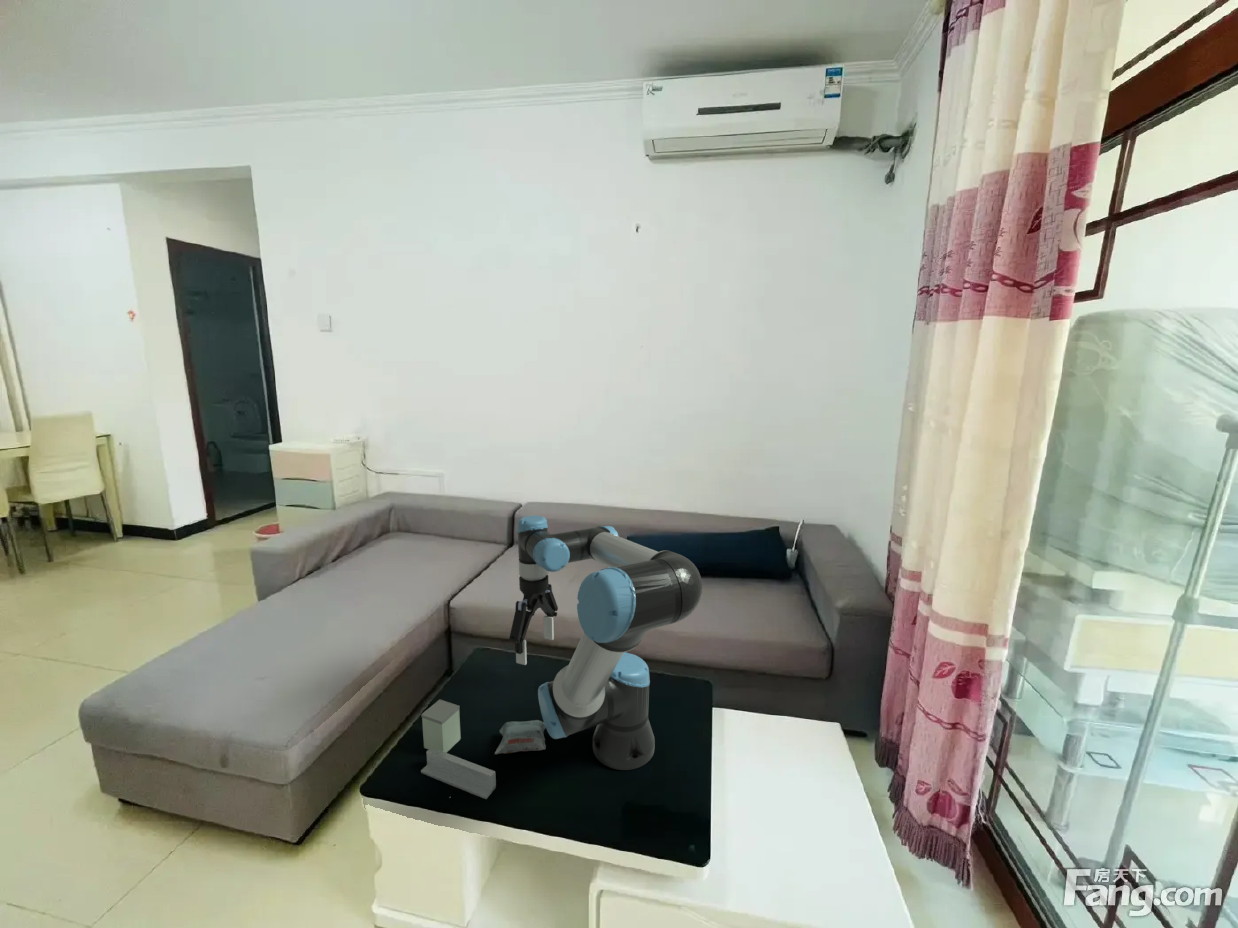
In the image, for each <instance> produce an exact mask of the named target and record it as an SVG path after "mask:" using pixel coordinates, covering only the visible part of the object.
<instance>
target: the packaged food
mask: <svg viewBox="0 0 1238 928" xmlns="http://www.w3.org/2000/svg"><path fill="white" fill-rule="evenodd" d="M545 730H546V727H545V724H544V721H542V720H539V719H533V720H527V721H525V720H524V721H507V722H505V723H504V724H503V725H502V726H501V728H500V729H499V734H501V736H502V739H501V741H500V743H499V745H498V747H497V748H496V751H495V752H494V755H498V754H512V753H518V752H531V751H543V750H544V751H545V750H546V747H547V745H546V738H545V736H544V731H545Z"/></svg>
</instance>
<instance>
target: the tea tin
mask: <svg viewBox="0 0 1238 928" xmlns="http://www.w3.org/2000/svg"><path fill="white" fill-rule="evenodd" d="M460 709H461V708H460V705H459V704H458V705H457V704H455V703H452V702H449V701H447V700H446V701H445V700H443V699H438V700H437V701H436V702H435V703H434V704H432V705H431V706H430V707H429V708H427V709H426V710H425V711H424V712H422V714H421V713H420V714H421V718H422V719H421V720H422V736H423V737H422V738H423V748H424V749H427V751H428V750H429V749H430V748H431V747H432V748H435V749H437V750H440V751H443V752H445V753H448V752H449V751H450V750H451V749H452V748H453V747H454V746H455V745H456V744H458V742H459V741H460V740H461V739H462V737H461V721H460V720H461V719H460Z"/></svg>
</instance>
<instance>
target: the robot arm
mask: <svg viewBox="0 0 1238 928" xmlns="http://www.w3.org/2000/svg"><path fill="white" fill-rule="evenodd" d="M548 529H549V527H548V520H547V518H546V517H544V516H542V515H527V516H523V517H521V518H519V520H518V521H517V532H516V534H517V544H518V545H517V546H518V547H517V548H518V550H517V551H518V570H519V571H518V572H519V573H518V574H519V578H518V580H519V584H518V585H519V591H520V592H521V593H522V595H523V596H522V597H523V598H522V600H520V601H519V600H517V601H516V602H515V610H514V611H515V612H514V615H513V620H512V625H511V629H510V634H509V638H508V641H509V642H511V643H514V646H515V647H514V649H515V662H516V664H519V665H524V666H526V665H527V663H528V661H527V658H528V656H527V655H528V653H527V640H526V639H525V638H526V636H527V632H528V629H529V625H530V623H531V620H532V617H533V616H535V613H536V611H537V610H538V609H541V611H542V612H543V613H544V615H543V639H546V640H550V641H554V640H555V634H554V633H555V632H554V630H555V629H554V623H555V622H554V617H558V610H559V607H558V603H557V602H556V599H555V595H554V594H553V587H552V586H553V585H552V584H551V583H549V572H550V573H555V572H560V570H562V569H563V568H565V567H566V566H567V565H568V564H571V563H574V562H575V563H576V562H580V561H587V560H594V561H596V562H598V563H600V564H602V565H604V566H605V568H601V569H600V570H597V571H594V572H593V571H592V572H591V573H588V575H587V576H585V577H584V579H583V581H581V583H580V586H579V588H578V592H577V598H576V599H577V601H578V603H577V604H576V609H577V611H576V612H577V617H578V621H579V624H580V627H581V629H582V631H583V633H582V635H581V637H580V639H579V642H578V644H577V646H576V649H575V651H574V653H573V655H572V657H571V659H570V661H569V664H568V665H566V666H564V667H563V668H561V669H560V670H559V671H558V672H557V673H556V675H555V677H554V680H552V681H547V682H544V683H543V684H540V686H538V689H537V698H538V703H539V708H540V714H541V717H542V720H543V721H542V722H544V724H545V727H546V728H545V730H546V731H547V733H548V734H549V736H550V738H552V739H554V740H558V739H563V738H567V737H569V736H570V735H573V734H576V733H578V732H582V731H584V730H585V731H586V729H590V728H593V727H595V726H596V728H595V730H594V733H593V735H592V752H593V754H594V756H595V758H596V759H597V760H598V761H599V762H600V763H601V764H602V765H604V766H606V767H608V768H611V769H614V770H617V771H618V770H619V771H630V770H636V769H638V768H641V767H643V766H645V765H646V764H647V763H648V762H649V761H651V759H652V758H653V756H654V753H655V748H656V747H655V746H656V745H655V743H656V742H655V741H656V740H655V736H654V733H653V729H652V726H651V723H650V720H649V705H650V704H649V701H650V699H649V698H650V696H649V695H650V683H651V680H650V671H649V670H650V669H649V666H648V664H647V663H646V661H645V660H643V658H641V657H640V656H639V655H636V654H634V653H629V652H630V651H632V650H634V649H636V647H637V646H638V645H639V644H641V641H642V640H643V638H644V636H645V635H646V633H647V632H648V631H651V630H653V629H657V628H660V627H661V628H662V627H664V626H668V625H671V624H675V623H679V622H681V621H683V620H685V619H686V618H688V617H690V616H691V615H692V613H693V612H694V611H695V610H696V608H697V607H698V605H699V603H700V601H701V598H702V595H703V580H702V577H701V574H700V572H699V569H698V568H697V566H696V565H695V563H693V562H692V561H691V560H690V559H689V558H687V557H686V556H683V555H682V554H679V553H677V552H674V551H671V550H667V549H666V550H661V551H657V550H655V549H652V548H649V547H647V546H644V545H641V544H639V543H636V542H634V541H632V540H629V539H626V538H624V537H621V536H619V532H618V531H617V530H616V529H615V528H614V526H611V525H604V526H603V525H598V526H596V527H589V528H584V529H579V530H570V531H563V532H559V533H551V532H549V531H548Z"/></svg>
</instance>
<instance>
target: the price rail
mask: <svg viewBox="0 0 1238 928" xmlns="http://www.w3.org/2000/svg"><path fill="white" fill-rule="evenodd" d="M420 773H421V774H422V775H426V776H427V777H430V778H433V779H435V780H437V781H440V782H442V783H444V784H447V785H449V786H452V787H454V788H457V789H460V790H462V791H464V792H466V793H469V794H471V795H474V796H476V797H480V798H482V799H484V800H487V799H488V798H489V797H490V795H491V794H492V793H493V791H495V789H496V788H497V779H496V771H495V770H493V769H491V768H490V769H489V768H487V767H485V766H482V765H479V764H477V763H474V762H471V761H468V760H466V759H463V758H461V757H459V756H457V755H453V754H450V753H448V752H447V753H445V752H443V751H440V750H437V749H435V748H432V747H431V748H430V749H429V750H428V749H427V750H426V766H424V767H423V768H422V769H421V770H420Z"/></svg>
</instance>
